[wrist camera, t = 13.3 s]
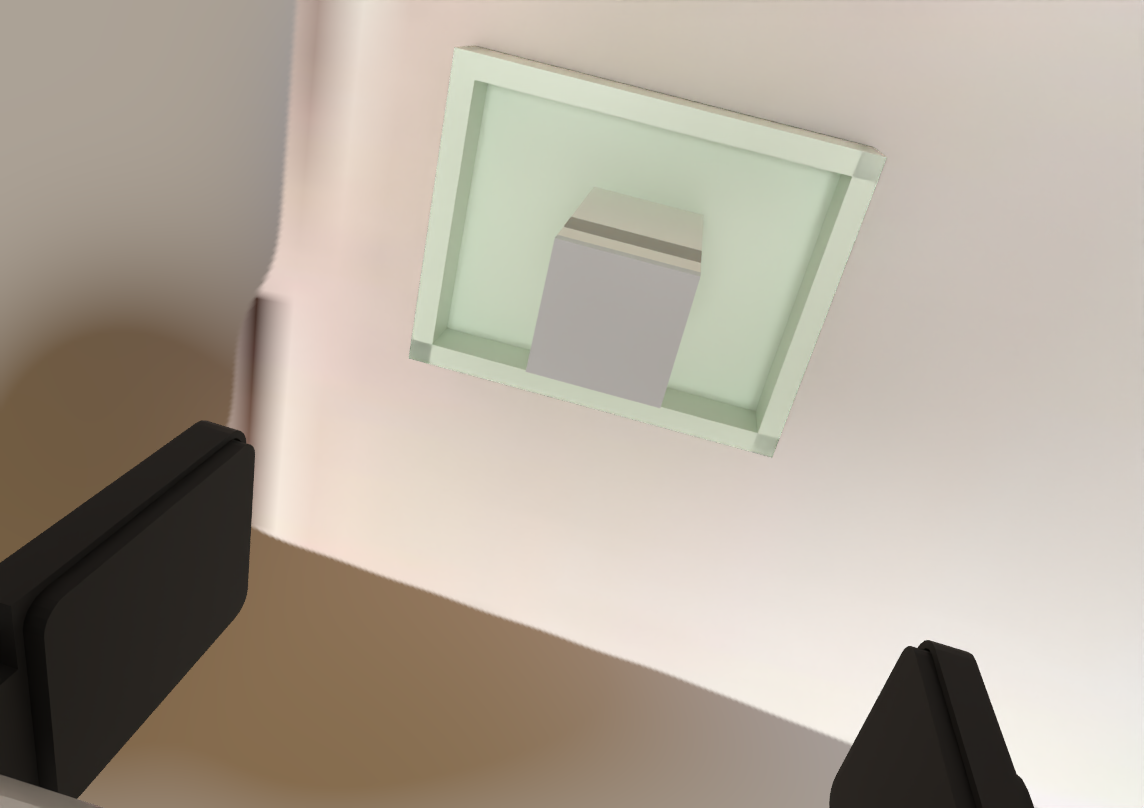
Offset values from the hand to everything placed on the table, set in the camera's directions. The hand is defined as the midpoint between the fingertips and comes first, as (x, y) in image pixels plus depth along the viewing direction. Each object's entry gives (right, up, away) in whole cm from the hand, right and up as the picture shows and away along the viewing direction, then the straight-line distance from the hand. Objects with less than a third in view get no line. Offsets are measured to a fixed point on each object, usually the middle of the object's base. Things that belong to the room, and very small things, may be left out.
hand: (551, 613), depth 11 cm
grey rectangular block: (+3, +8, +18) cm, 20 cm away
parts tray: (+2, +9, +19) cm, 21 cm away
